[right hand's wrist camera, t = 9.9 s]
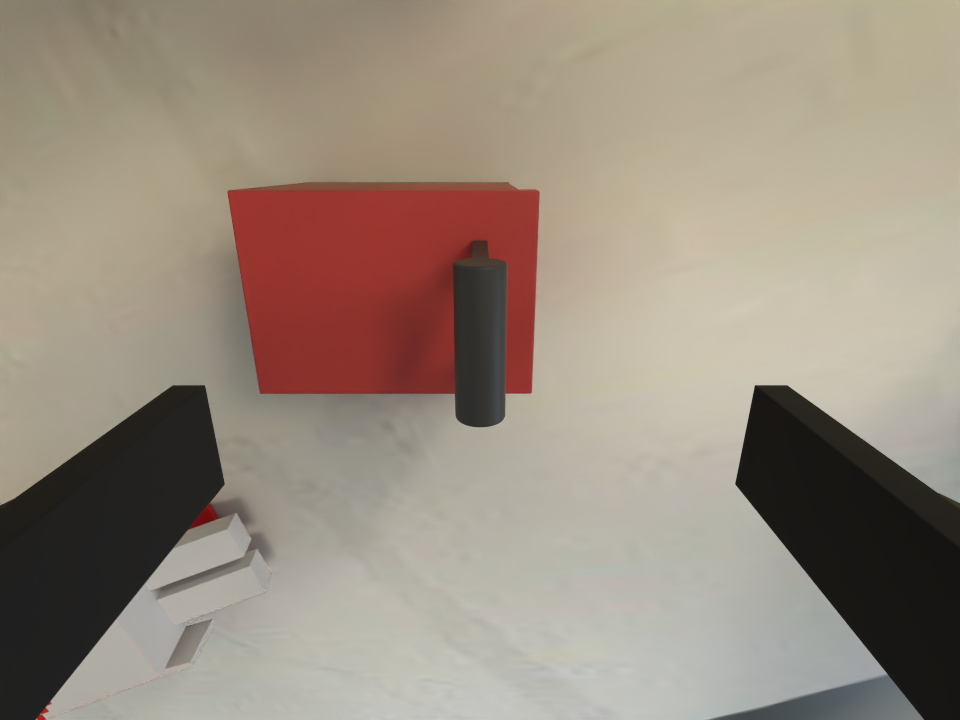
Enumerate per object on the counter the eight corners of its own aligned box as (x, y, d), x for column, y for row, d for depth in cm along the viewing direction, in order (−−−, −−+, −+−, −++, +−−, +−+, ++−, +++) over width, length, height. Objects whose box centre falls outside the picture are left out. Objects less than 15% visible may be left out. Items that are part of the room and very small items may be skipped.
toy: (265, 666, 38) (-137, 814, 37) (301, 547, 50) (2, 656, 50) (181, 534, 34) (-270, 698, 33) (243, 441, 46) (-83, 558, 46)
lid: (537, 189, 25) (566, 201, 17) (529, 385, 28) (550, 476, 20) (237, 189, 25) (116, 201, 17) (267, 385, 28) (180, 476, 20)
